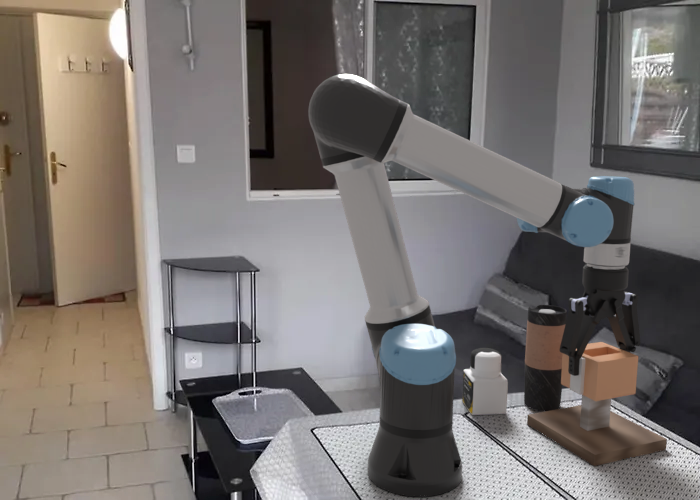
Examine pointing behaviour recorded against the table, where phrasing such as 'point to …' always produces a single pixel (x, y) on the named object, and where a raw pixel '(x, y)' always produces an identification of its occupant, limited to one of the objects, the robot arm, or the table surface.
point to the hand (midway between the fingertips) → (597, 387)
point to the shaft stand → (596, 432)
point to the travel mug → (544, 357)
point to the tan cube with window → (605, 372)
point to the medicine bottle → (485, 383)
